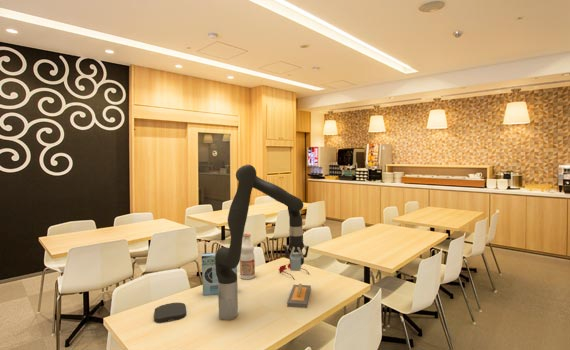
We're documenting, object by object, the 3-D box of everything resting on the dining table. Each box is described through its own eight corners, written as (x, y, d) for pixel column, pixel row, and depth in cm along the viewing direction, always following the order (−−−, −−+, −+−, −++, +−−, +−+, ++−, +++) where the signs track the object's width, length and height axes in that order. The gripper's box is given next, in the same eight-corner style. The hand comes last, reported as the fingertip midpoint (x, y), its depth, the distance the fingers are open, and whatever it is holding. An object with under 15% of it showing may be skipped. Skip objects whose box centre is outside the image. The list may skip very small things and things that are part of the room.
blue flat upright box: (237, 289, 186) (236, 251, 185) (237, 293, 181) (236, 253, 180) (203, 292, 183) (202, 252, 182) (202, 295, 178) (201, 255, 177)
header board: (306, 307, 162) (306, 297, 162) (287, 306, 164) (287, 295, 164) (310, 288, 186) (310, 279, 186) (293, 287, 188) (293, 278, 187)
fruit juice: (237, 276, 207) (236, 234, 206) (250, 273, 212) (249, 232, 211) (244, 281, 199) (243, 236, 198) (257, 277, 204) (256, 234, 203)
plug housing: (300, 271, 167) (299, 259, 166) (290, 270, 168) (290, 259, 167) (303, 257, 188) (303, 247, 187) (295, 257, 188) (295, 247, 188)
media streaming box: (154, 311, 162) (154, 305, 162) (184, 305, 167) (184, 300, 167) (154, 324, 148) (154, 318, 148) (187, 318, 153) (186, 312, 153)
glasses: (293, 268, 221) (293, 261, 221) (310, 275, 209) (310, 267, 209) (278, 273, 213) (277, 266, 212) (294, 280, 200) (294, 272, 200)
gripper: (282, 235, 171) (283, 266, 172) (308, 235, 169) (309, 267, 170) (284, 232, 178) (285, 261, 179) (309, 232, 176) (310, 262, 177)
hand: (297, 264), depth 174 cm, fingers closed on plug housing, 5 cm apart
